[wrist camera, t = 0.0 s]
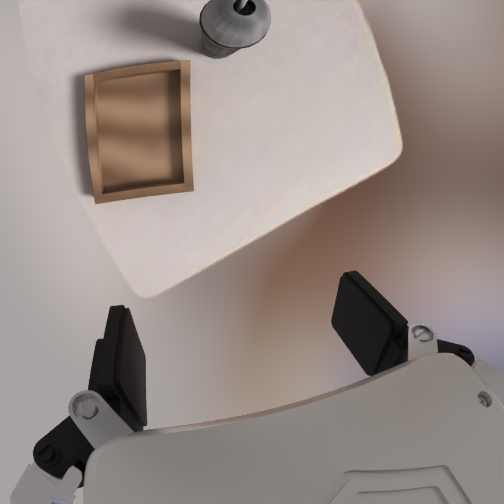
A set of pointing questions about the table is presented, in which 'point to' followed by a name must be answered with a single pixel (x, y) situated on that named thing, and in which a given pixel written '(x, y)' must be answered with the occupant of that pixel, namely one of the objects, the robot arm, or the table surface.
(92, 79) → the walnut tray
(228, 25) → the beverage cup
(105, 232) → the table surface
